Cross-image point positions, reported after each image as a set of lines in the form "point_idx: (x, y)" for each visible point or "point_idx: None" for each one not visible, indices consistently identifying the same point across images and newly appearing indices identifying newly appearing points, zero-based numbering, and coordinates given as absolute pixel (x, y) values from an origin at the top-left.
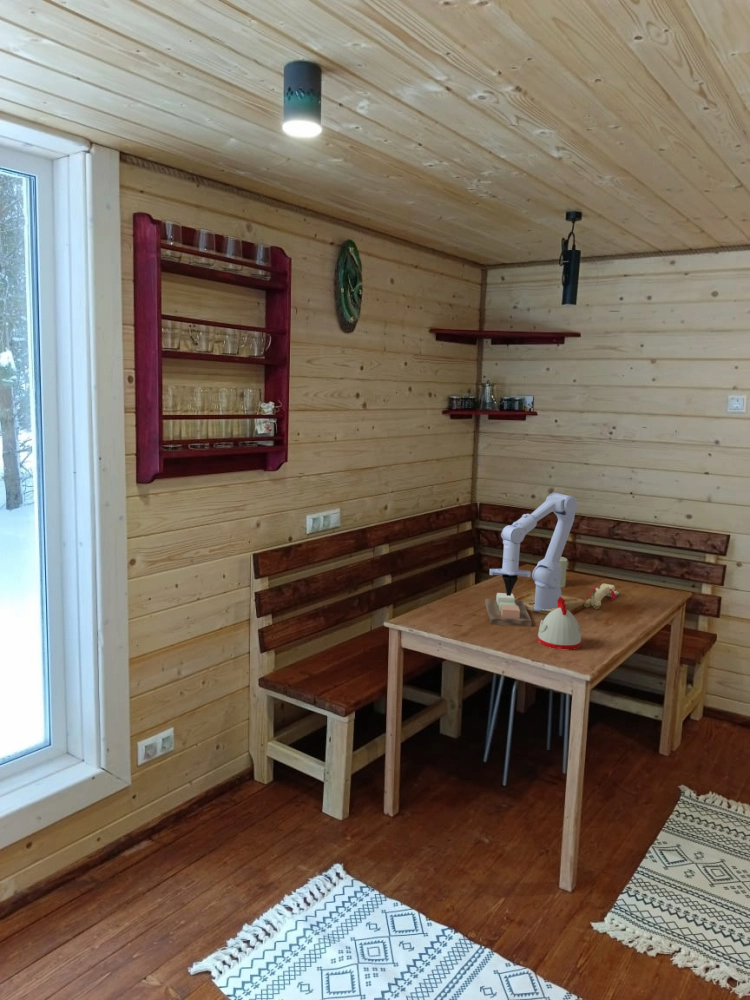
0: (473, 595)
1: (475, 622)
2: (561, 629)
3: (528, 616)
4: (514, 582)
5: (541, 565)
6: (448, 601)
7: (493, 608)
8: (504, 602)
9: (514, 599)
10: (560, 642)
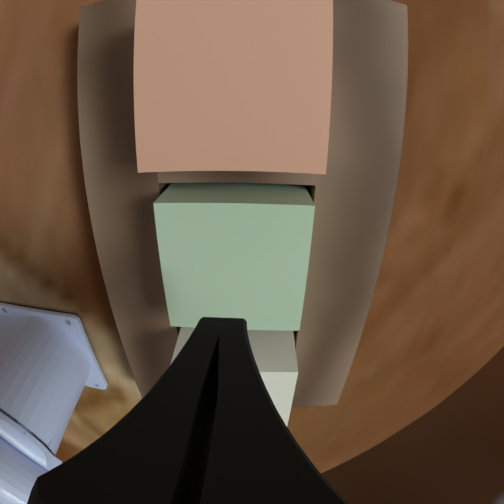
0: (345, 440)
1: (473, 58)
2: None
3: (84, 102)
4: (99, 458)
5: None
6: (470, 368)
7: (345, 256)
8: (253, 324)
9: (172, 359)
10: None
